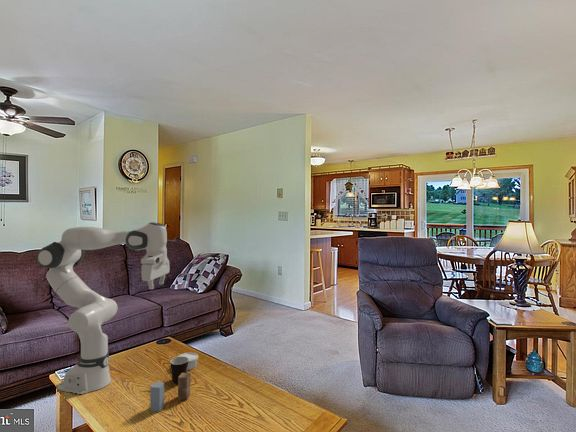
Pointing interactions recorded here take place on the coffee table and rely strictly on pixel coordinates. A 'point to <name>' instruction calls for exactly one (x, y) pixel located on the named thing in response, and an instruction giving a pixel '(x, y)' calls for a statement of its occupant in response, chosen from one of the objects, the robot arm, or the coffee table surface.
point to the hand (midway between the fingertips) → (156, 286)
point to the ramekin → (190, 359)
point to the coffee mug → (178, 367)
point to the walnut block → (184, 386)
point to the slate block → (157, 396)
